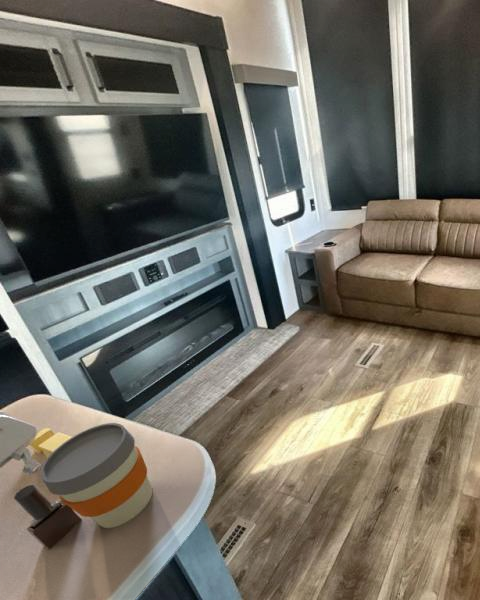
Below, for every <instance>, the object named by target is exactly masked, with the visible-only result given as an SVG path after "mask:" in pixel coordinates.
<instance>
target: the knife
mask: <svg viewBox="0 0 480 600" xmlns="http://www.w3.org/2000/svg"><path fill="white" fill-rule="evenodd" d="M14 500H15V501H16V503H18V504H19V505H20V506H21V508H23V510H25V511H26V512H27V514H28V515H29V516H30V517H32V519H33V520H32V521H31V522H29V525H30V526H31V525H32V526H33V527H34V528H35V529H36V528H37V527H38V526H39V525H40V524H42V523H43V522H44V521H45V520H46V519H48V518H49V517H50V516H51V515H52V514H54V513H55V512H56V511H57V510H58V509H59V508H61V507H62V506H61V505H60V504H59V503H58V502H59V501H54V503H51V502H50V501H49V500H48V498H47V497H45V495H44V494H43V493H42V492H41V491H40V490H39V489H38V488H37V487H36V486H35V485H34V484H29V485H27V486H25V487H22V488H21V489H20V490H18V492H16V494H15V495H14Z"/></svg>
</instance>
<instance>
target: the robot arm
mask: <svg viewBox="0 0 480 600" xmlns="http://www.w3.org/2000/svg"><path fill="white" fill-rule="evenodd" d="M37 433H38V429H37V427H36V426H35V425H33V424H31V423H28V422H25V421H23V420H20V419H18V418H14V417H12V416H11V415H9V414H7V413H5V412H3V411H1V410H0V469H2V468H3V467H4V466H6V465H7V464H8V463H9V462H11V461H12V460H15V461H18V462H19V461H21V460H22V461H23V464H24V465H23V468H22V472H23V473H26V474H28V475H30V476H33V475H34V474H36V473H37V471H39V470H41V468H42V464H41V463H40V462H38V461H36V460H34V459H33V456H32V454H31V451H30V449H29V448H27V447H28V446H30V445H29V444H31V443H32V442H33V441H34V440H35V438H36V435H37Z"/></svg>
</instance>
